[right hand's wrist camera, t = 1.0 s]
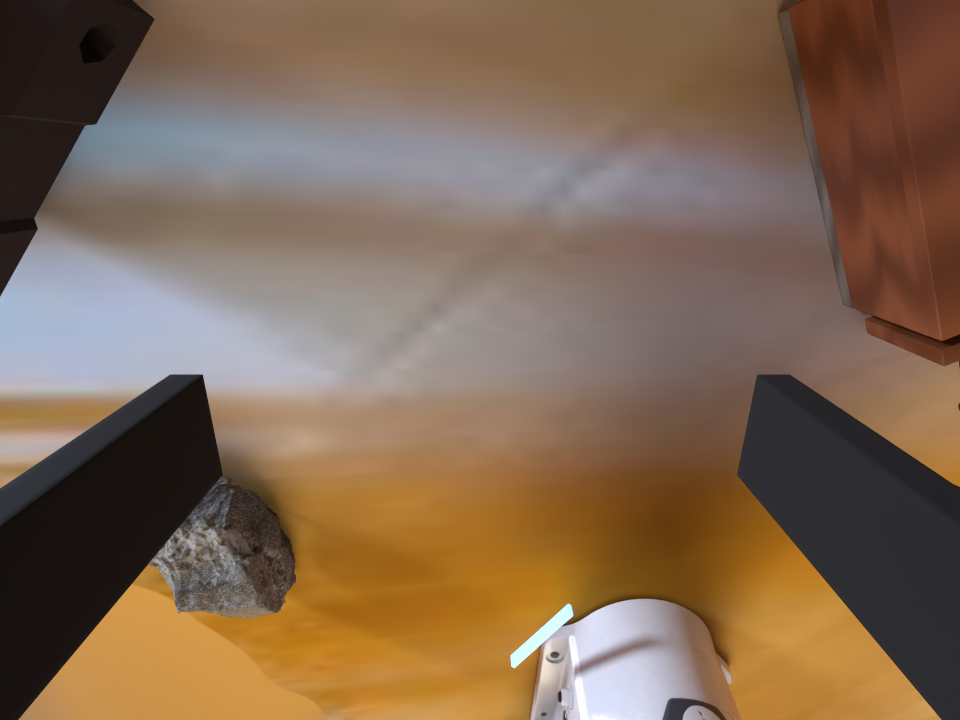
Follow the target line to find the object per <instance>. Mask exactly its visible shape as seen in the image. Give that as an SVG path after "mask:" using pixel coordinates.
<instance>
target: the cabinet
mask: <svg viewBox="0 0 960 720" xmlns="http://www.w3.org/2000/svg"><path fill="white" fill-rule="evenodd" d="M778 16H779V20H780V25H781V29H782V34H783V38H784V42H785V47H786V51H787V56H788V60H789V65H790V69H791V74H792V78H793V83H794V87H795V91H796V96H797V100H798V105H799V109H800V114H801V118H802V123H803V127H804V132H805V136H806V141H807V145H808V149H809V154H810V158H811V163H812V167H813V172H814V176H815V181H816V185H817V190H818V194H819V198H820V203H821V207H822V212H823V216H824V221H825V225H826V230H827V234H828V239H829V243H830V248H831V252H832V256H833V261H834V265H835V270H836V274H837V279H838V283H839V288H840V292H841V297H842V301H843V305H846V306H849V307H851V308H855V309H858V310H860V311H863V312H866V313H868V314H871V315H874V316H876V317H879V318H881V319H884V320H887V321H889V322H892V323H895V324H897V325H900V326H903V327H905V328H908V329H910V330H913V331H916V332H918V333H921V334H924V335H926V336H930V337H932V338H935V339H937V340H940V341H944V340H946V339H949V338H951V337H954V336H957V335H959V334H960V0H803V1H801V2H799V3H797V4H795V5H793V6H791V7H789V8H787V9H785V10H783V11H781V12H779V13H778Z"/></svg>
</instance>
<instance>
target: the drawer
mask: <svg viewBox="0 0 960 720" xmlns="http://www.w3.org/2000/svg"><path fill="white" fill-rule="evenodd" d="M865 324H866V328H867V333H868V334H870V335H873V336H875V337H877V338H880V339H882V340H884V341H887V342H889V343H891V344H893V345H896V346H898V347H900V348H903V349H905V350H907V351H910V352H912V353H914V354H917V355H919V356H921V357H924V358H926V359H928V360H931V361H933V362H935V363H938V364H940V365H942V366H946V365H949V364H951V363H954V362H957V361H959V367H960V334H959V335H957V336H954V337H951V338H949V339H946V340H944V341H940V340H937V339H935V338H932V337H930V336H926V335H924V334H921V333H918V332H916V331H913V330H910V329H908V328H905V327H903V326H900V325H897V324H895V323H892V322H889V321H887V320H884V319H881V318H879V317H876V316H872V317H869V318H867V319H865ZM958 408H959V410H960V403H959V405H958Z"/></svg>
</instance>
